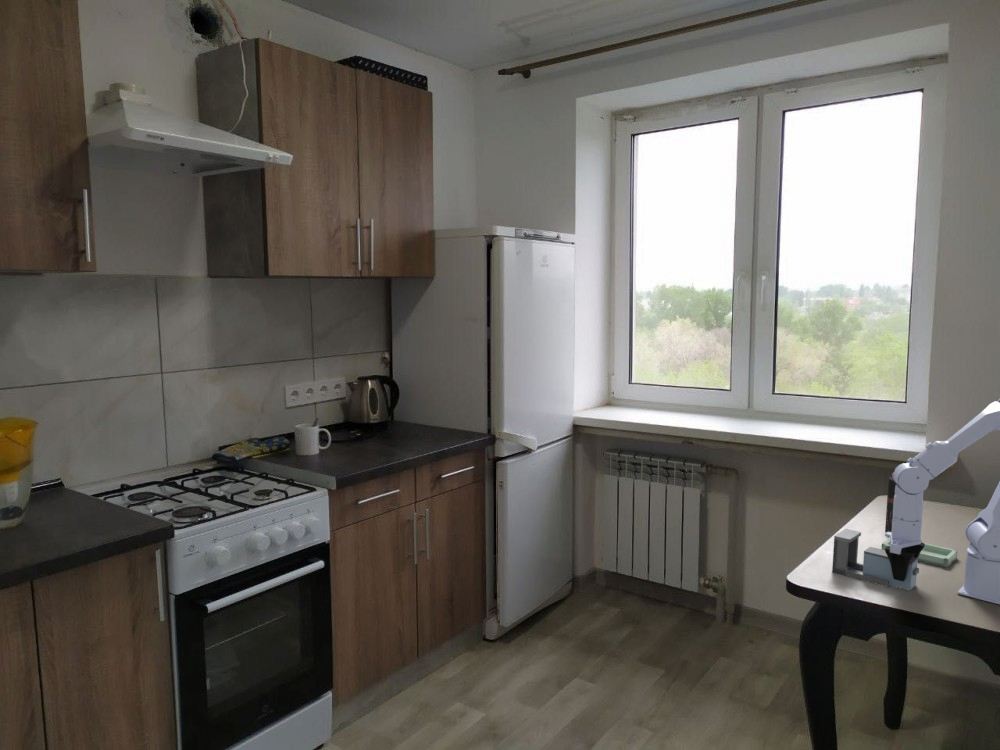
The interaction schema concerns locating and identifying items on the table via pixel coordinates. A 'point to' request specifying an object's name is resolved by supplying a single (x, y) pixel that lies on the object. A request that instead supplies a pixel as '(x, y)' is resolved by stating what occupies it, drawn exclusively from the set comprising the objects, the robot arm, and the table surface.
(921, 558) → the tray
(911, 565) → the pale blue block
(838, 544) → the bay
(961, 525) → the table surface
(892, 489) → the deodorant
